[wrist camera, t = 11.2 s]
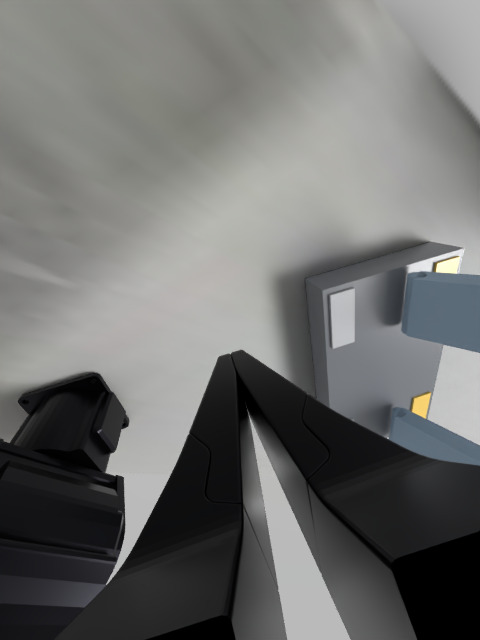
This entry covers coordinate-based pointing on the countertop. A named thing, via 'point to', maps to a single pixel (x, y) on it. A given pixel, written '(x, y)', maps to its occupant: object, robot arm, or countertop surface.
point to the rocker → (443, 309)
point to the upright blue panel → (431, 438)
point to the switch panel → (374, 337)
